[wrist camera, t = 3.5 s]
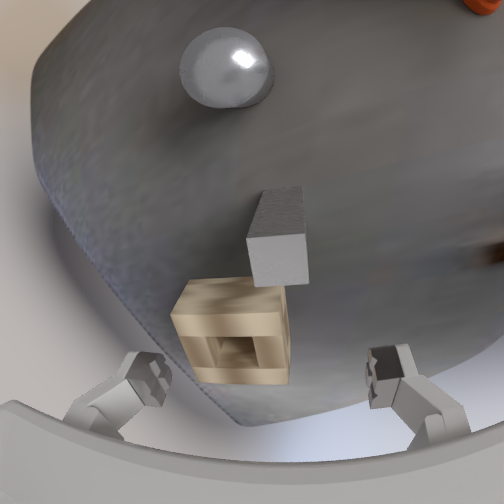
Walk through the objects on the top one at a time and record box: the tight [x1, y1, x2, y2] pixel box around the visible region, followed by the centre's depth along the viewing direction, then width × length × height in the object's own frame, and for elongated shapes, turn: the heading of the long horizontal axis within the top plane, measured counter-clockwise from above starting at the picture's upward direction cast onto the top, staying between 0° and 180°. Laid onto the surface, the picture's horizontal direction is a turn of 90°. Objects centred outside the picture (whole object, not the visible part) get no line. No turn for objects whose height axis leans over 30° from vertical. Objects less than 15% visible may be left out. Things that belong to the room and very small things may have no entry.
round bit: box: [180, 27, 275, 108], centre depth 19 cm, size 6×6×7 cm
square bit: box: [246, 187, 309, 287], centre depth 22 cm, size 3×3×10 cm
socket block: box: [170, 276, 291, 385], centre depth 30 cm, size 10×10×6 cm
